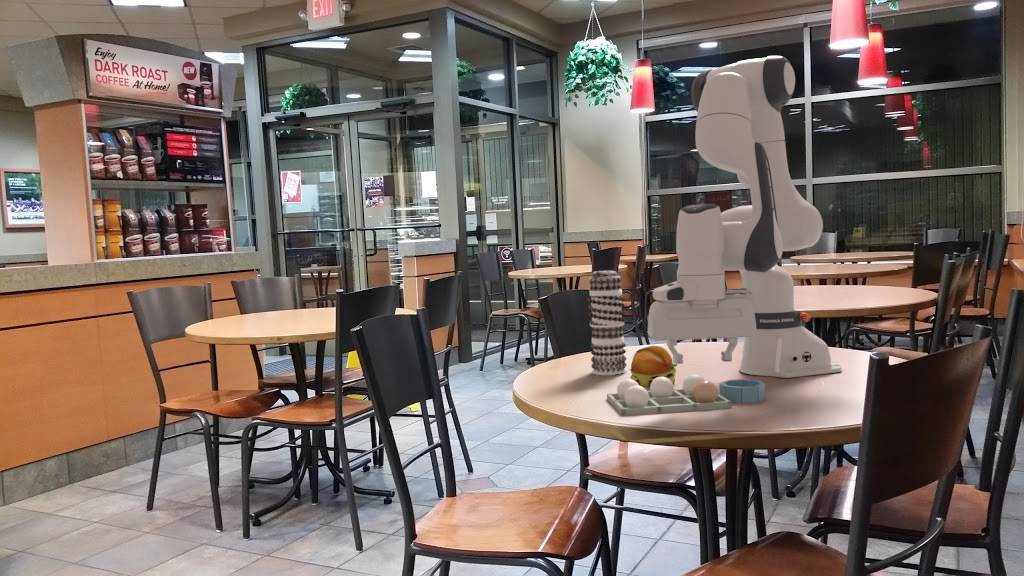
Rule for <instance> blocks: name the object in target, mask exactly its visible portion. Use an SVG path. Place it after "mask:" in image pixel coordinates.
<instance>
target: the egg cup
mask: <svg viewBox="0 0 1024 576" xmlns="http://www.w3.org/2000/svg"><path fill="white" fill-rule="evenodd" d="M719 395H721V396H723V397H724V398H726V399H728V400H730V401H731V402H732V403H737V404H738V403H740V404H747V403H758V402H761V401H763V400H766V382H763V381H761V380H760V379H759V380H758V379H749V378H737V379H727V380H726V379H725V380H724V381H721V382H719Z"/></svg>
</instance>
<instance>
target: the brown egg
mask: <svg viewBox="0 0 1024 576" xmlns="http://www.w3.org/2000/svg"><path fill="white" fill-rule="evenodd" d="M718 394H719V390H718V388H717V386H716V385H715V383H714V382H712V381H709V380H705V381H701V382H699V383H697V384H696V386H695V387H694V390H693V395H694V398H695V399H696V401H697V402H699V403H709V402H715V401H716V399H717V397H718Z"/></svg>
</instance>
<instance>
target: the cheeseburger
mask: <svg viewBox="0 0 1024 576" xmlns="http://www.w3.org/2000/svg"><path fill="white" fill-rule="evenodd" d="M677 366H678V364H674V363H673V357H671V355H670V353H669V352H668V350H667V349H666V348H664V347H663V346H661V345H649V346H646V347H643V348H640V349H638V350H636V351H635V353H634V355H633V357H632V360H631V366H630V369H629V371H630V374H631V375H630V377H629V379H632V380H634V381H636V382H637V383H638V384H639V386H642V387H643V388H647V387H648V388H650V385H651V382H652V381H653V380H654V379H655V378H657V377H666V378H668V379H669V380H670V381H671V382H672V384H673V386H674V385H675V383H676V382H675V381H676V379H675V378H676V373H677V369H676V367H677Z"/></svg>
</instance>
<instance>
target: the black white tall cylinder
mask: <svg viewBox="0 0 1024 576" xmlns="http://www.w3.org/2000/svg"><path fill="white" fill-rule="evenodd" d="M621 278H622V276H621V275H619V273H618V271H616V270H598V271H597V270H596V271H593V272H592V274H591V276H590V277H588V279H589V295H588V297H587V298H586V301H587V302H588V303H590V304H588V307H587V309H588V310H589V312H588V316H589V317H591V319H589V326H590V327H591V335H592V336H591V344H590V348H591V349H592V350H591V351H590V354H591V355H593V356H592V357H591V359H590V360H591V363H592V364H591V368H592V369H593V370H591V373H592V374H593V375H595V374H596V376H616V375H615V374H619V375H622V374H621V373H624V374H626V373H627V370H626V367H627V365H628V364H627V363H626V360H627V357H626V356H625V355H624V354H626V353H627V351H626V350H625V347H626V345H627V344H626V343H625V336H624V328H623V326H624V325H625V320H626V319H625V318H624V317H623V316H624V315H625V312H624V311H623V310H622V308H624V307H625V306H626V304H625V303H624V301H625V297H624V296H623V289H622V287H621V286H622V282H621ZM625 372H626V373H625Z"/></svg>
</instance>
